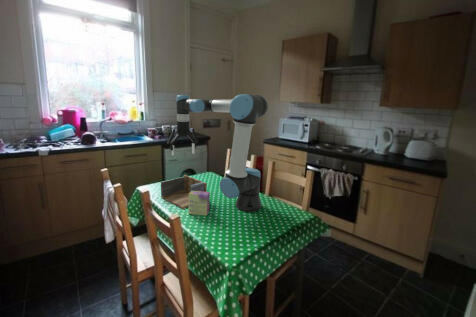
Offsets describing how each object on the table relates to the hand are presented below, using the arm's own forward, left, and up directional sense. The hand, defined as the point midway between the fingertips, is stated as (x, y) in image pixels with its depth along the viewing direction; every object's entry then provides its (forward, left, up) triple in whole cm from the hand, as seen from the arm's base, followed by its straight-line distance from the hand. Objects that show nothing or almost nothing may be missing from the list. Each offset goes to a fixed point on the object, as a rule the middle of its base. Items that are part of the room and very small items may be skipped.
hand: (183, 154), depth 161 cm
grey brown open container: (-9, +7, -26) cm, 28 cm away
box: (-30, +12, -26) cm, 41 cm away
